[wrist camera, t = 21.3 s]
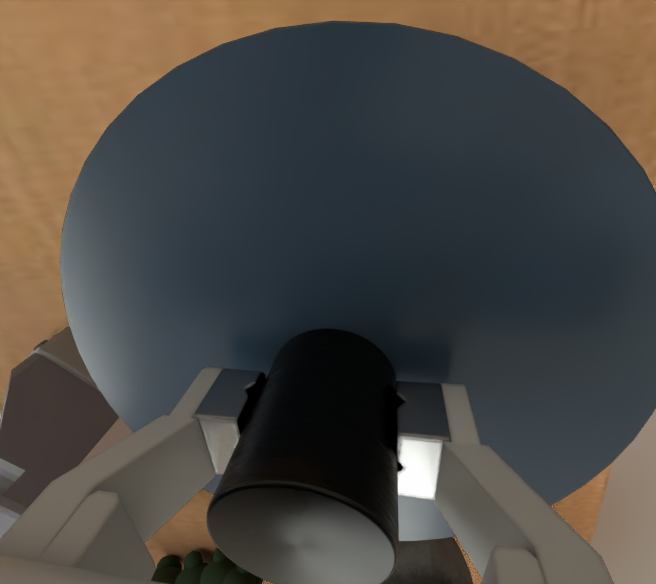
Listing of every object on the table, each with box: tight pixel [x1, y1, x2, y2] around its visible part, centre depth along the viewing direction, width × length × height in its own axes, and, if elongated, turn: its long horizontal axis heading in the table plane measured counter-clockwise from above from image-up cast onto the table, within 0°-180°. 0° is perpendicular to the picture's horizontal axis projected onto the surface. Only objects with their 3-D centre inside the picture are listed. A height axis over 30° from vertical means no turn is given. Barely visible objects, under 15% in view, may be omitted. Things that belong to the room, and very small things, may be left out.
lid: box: [60, 21, 656, 584], centre depth 8 cm, size 15×15×5 cm
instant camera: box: [0, 327, 133, 539], centre depth 34 cm, size 21×21×15 cm
